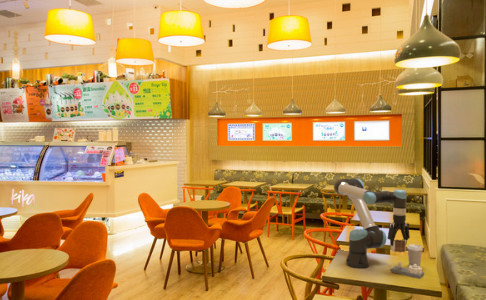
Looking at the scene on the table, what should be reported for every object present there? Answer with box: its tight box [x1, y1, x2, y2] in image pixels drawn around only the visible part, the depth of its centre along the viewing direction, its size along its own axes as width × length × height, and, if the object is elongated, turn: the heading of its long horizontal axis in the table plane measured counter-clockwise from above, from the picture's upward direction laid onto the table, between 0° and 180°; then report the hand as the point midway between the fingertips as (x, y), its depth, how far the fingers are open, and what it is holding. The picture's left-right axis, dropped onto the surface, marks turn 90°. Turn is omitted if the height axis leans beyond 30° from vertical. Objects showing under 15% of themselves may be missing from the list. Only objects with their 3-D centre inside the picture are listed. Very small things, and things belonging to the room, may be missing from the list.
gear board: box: [390, 261, 425, 279], centre depth 252 cm, size 18×9×7 cm, turn 49°
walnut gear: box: [394, 239, 406, 253], centre depth 251 cm, size 8×8×6 cm
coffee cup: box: [406, 243, 423, 268], centre depth 263 cm, size 10×10×15 cm
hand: (398, 250), depth 251 cm, fingers closed on walnut gear, 8 cm apart
